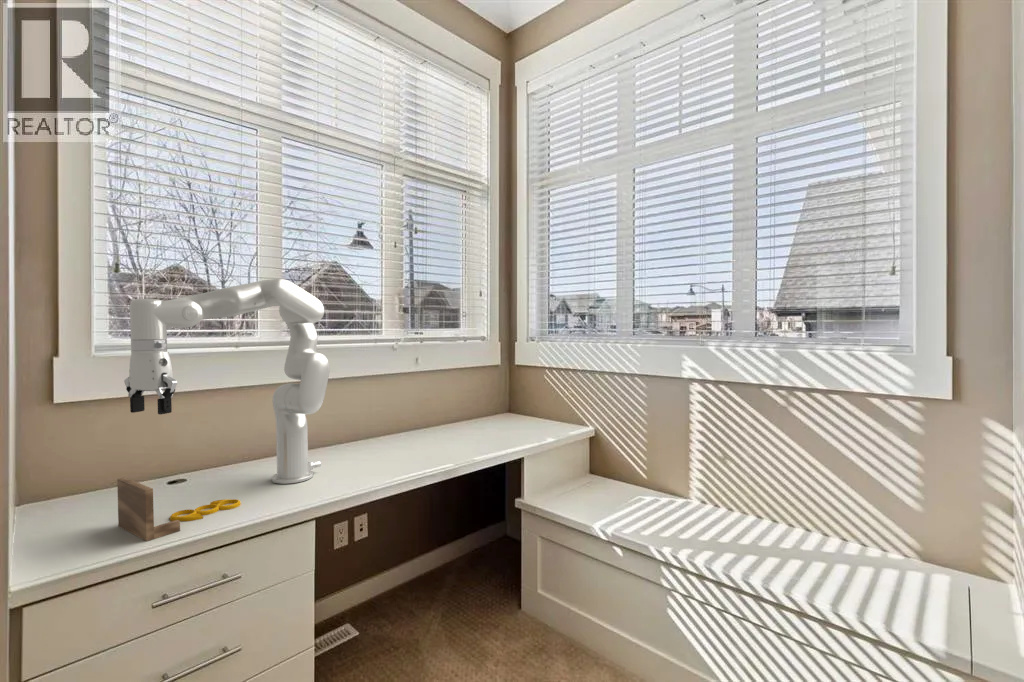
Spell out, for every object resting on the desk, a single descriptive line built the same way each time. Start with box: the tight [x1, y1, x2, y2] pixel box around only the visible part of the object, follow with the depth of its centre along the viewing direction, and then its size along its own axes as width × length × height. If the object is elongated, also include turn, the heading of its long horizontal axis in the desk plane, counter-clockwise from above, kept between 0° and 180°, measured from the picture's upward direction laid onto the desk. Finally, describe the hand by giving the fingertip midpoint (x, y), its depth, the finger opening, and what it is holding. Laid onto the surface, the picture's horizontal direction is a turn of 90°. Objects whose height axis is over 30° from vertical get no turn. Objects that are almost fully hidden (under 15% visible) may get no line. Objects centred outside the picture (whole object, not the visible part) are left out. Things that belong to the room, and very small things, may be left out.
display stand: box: [116, 477, 181, 542], centre depth 120 cm, size 7×16×12 cm, turn 57°
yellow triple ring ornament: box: [169, 498, 242, 522], centre depth 132 cm, size 17×2×10 cm
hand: (151, 412), depth 126 cm, fingers open, 9 cm apart
